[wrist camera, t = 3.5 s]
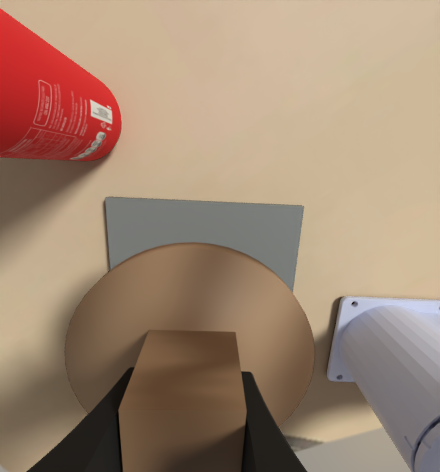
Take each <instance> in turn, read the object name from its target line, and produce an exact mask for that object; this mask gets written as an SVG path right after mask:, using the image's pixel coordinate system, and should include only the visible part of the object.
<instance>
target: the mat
mask: <svg viewBox="0 0 440 472" xmlns="http://www.w3.org/2000/svg"><path fill="white" fill-rule="evenodd" d="M105 203H106V217H107V231H108V245H109V259H110V270H111V269H113V268H114V267H115V266H116V265H118V264H119V263H121V262H122V261H124V260H126V259H127V258H129V257H131V256H133V255H135V254H138V253H140V252H142V251H144V250H147V249H151V248H154V247H158V246H161V245H167V244H173V243H185V242H199V243H209V244H216V245H220V246H224V247H229V248H232V249H234V250H237V251H240V252H243V253H245V254H247V255H249V256H251V257H253V258H255V259H257V260H259V261H260V262H261V263H263V264H264V265H266V266H267V267H269V268H270V269H271V270H272V271H274V272H275V273H276V274H277V275H278V276H279V277H280V278H281V279H282V280H283V281H284V282H285V284H286V285H287V286H288V287H289V289H290V290H291V291H292V293H293V286H294V279H295V271H296V264H297V256H298V248H299V241H300V233H301V226H302V218H303V211H304V206H301V205H280V204H258V203H235V202H213V201H191V200H169V199H147V198H125V197H106V198H105Z"/></svg>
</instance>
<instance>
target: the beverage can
mask: <svg viewBox="0 0 440 472" xmlns="http://www.w3.org/2000/svg"><path fill="white" fill-rule="evenodd" d="M120 133H121V114H120V110H119V106H118V104H117V101H116V99H115V97H114V96H113V94H112V93H111V91H110V90H109V89H108V88H107V87H106V86H105V85H104V84H103V83H102V82H101V81H100V80H98V79H97V78H96V77H94V76H93V75H91V74H90V73H89V72H87V71H86V70H85V69H83V68H82V67H80V66H79V65H78V64H76V63H75V62H74V61H72V60H71V59H69V58H68V57H67V56H65V55H64V54H62V53H61V52H60V51H58V50H57V49H56V48H54V47H53V46H51V45H50V44H49V43H47V42H46V41H45V40H43V39H42V38H40V37H39V36H38V35H36V34H35V33H33V32H32V31H31V30H29V29H28V28H27V27H25V26H24V25H22V24H21V23H20V22H18V21H17V20H16V19H14V18H13V17H11V16H10V15H9V14H7V13H6V12H4V11H3V10H2V9H0V157H4V158H26V159H48V160H71V161H92V160H96V159H99V158H101V157H103V156H105V155H106V154H107V153H109V152H110V151H111V150H112V149H113V147H114V146H115V144H116V143H117V141H118V139H119V137H120Z"/></svg>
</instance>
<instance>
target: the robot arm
mask: <svg viewBox="0 0 440 472" xmlns="http://www.w3.org/2000/svg"><path fill="white" fill-rule="evenodd" d="M354 301H355V304H353V305H351V304H352V302H354ZM439 307H440V300H430V299H405V298H381V297H356V296H345V297H343V298H342V299H341V300H340V304H339V310H338V315H337V320H336V326H335V331H334V336H333V342H332V347H331V352H330V358H329V363H328V369H327V377H328V379H329V380H330V381H337V382H355V383H356V384H357V386H358V387H359V389H360V391H361V392H362V394H363V395H364V397H365V399H366V400H367V402H368V403H369V405H370V407H371V408H372V410H373V411H374V413H375V414H376V416H377V418H378V419H379V421H380V422H381V424H382V426H383V427H384V429H385V430H386V432H387V433H388V435H389V436H390V438H391V440H392V441H393V443H394V444H395V446H396V448H397V449H398V451H399V452H400V454H401V456H402V457H403V459H404V460H405V462H406V463H407V465H408V467H409V468H410V470H411V471H412V472H440V308H439ZM134 368H135V367H130V368H128V369H127V371H126V372H125V373H124V374H123V375H122V377H121V378H120V379H119V380H118V382H117V383H116V384H115V385H114V386H113V387H112V389H111V390H110V391H109V392H108V393H107V394H106V395H105V397H104V398H103V399H102V400H101V401H100V402H99V403H98V404H97V405H96V407H95V408H94V409H93V410H92V411H91V412H90V413H89V414H88V415H87V416H86V417H85V418H84V419H83V420H82V421H81V422H80V423H79V424H78V425H77V426H76V427H75V428H74V429H73V430H72V431H71V432H70V433H69V434H68V435H67V436H66V437H65V438H64V439H63V440H62V441H61V442H60V443H59V444H58V445H57V446H56V447H54V448H53V449H52V450H51V451H50V452H49V453H48V454H47V455H46V456H44V457H43V458H42V459H41V460H40V461H39V462H37V463H36V464H35V465H34V466H33V467H31V468H30V469H29V470H28V471H27V472H123V464H122V451H121V438H120V424H119V411H118V410H119V407H120V404H121V402H122V399H123V397H124V394H125V391H126V389H127V386H128V384H129V381H130V378H131V376H132V373H133V371H134ZM241 374H242V381H243V388H244V396H245V403H246V410H247V413H246V423H245V434H244V445H243V455H242V466H241V472H307V471H306V469H305V468H304V467H303V465H302V464H301V462H300V461H299V459H298V458H297V456H296V455H295V453H294V452H293V450H292V449H291V447H290V446H289V444H288V442H287V441H286V439H285V438H284V436H283V434H282V433H281V431H280V429H279V427H278V426H277V424H276V422H275V420H274V419H273V417H272V415H271V413H270V411H269V409H268V407H267V405H266V403H265V401H264V399H263V397H262V395H261V393H260V391H259V389H258V386H257V384H256V381H255V379H254V376H253V374H252V373H251V372H247V371H241ZM338 375H339V376H338Z"/></svg>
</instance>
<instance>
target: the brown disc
mask: <svg viewBox="0 0 440 472" xmlns="http://www.w3.org/2000/svg"><path fill="white" fill-rule="evenodd" d="M314 358H315V350H314V339H313V335H312V330H311V327H310V324H309V322H308V319H307V317H306V314H305V312H304V311H303V309H302V307H301V306H300V304H299V302H298V301H297V299H296V297H295V296H294V294H293V293H292V291H291V290H290V289H289V287H288V286H287V285H286V284H285V282H284V281H283V280H282V279H281V278H280V277H279V276H278V275H277V274H276V273H275V272H274V271H272V270H271V269H270V268H269V267H267V266H266V265H264V264H263V263H261V262H260V261H259V260H257V259H255V258H253V257H251V256H249V255H247V254H245V253H243V252H240V251H237V250H234V249H232V248H229V247H224V246H220V245H216V244H209V243H199V242H185V243H173V244H167V245H161V246H158V247H154V248H151V249H147V250H144V251H142V252H140V253H138V254H135V255H133V256H131V257H129V258H127V259H126V260H124V261H122V262H121V263H119V264H118V265H116V266H115V267H114V268H113V269H111V270H110V271H109V272H108V273H106V274H105V275H104V276H103V277H102V278H101V279H100V280H99V281H98V282H97V283H96V284H95V285H94V286H93V288H92V289H91V290H90V291H89V292H88V293H87V294H86V295H85V296H84V298H83V299H82V301H81V303H80V304H79V306H78V307H77V309H76V311H75V313H74V315H73V317H72V319H71V321H70V324H69V328H68V332H67V335H66V343H65V365H66V369H67V374H68V378H69V381H70V383H71V386H72V389H73V391H74V393H75V395H76V397H77V398H78V400H79V402H80V403H81V405H82V406H83V407H84V409H85V410H86V411H87V413H88V414H89V413H90V412H91V411H92V410H93V409H94V408H95V407H96V405H97V404H98V403H99V402H100V401H101V400H102V399H103V398H104V397H105V395H106V394H107V393H108V392H109V391H110V390H111V389H112V387H113V386H114V385H115V384H116V383H117V382H118V380H119V379H120V378H121V377H122V375H123V374H124V373H125V372H126V371H127V369H128V368H130V367H135V368H134V371H133V373H132V376H131V378H130V381H129V384H128V386H127V389H126V391H125V394H124V397H123V399H122V402H121V404H120V407H119V410H118V411H119V424H120V438H121V451H122V464H123V472H241V466H242V455H243V445H244V434H245V423H246V413H247V410H246V403H245V396H244V388H243V381H242V374H241V371H247V372H251V373H252V374H253V376H254V379H255V381H256V384H257V386H258V389H259V391H260V393H261V395H262V397H263V399H264V401H265V403H266V405H267V407H268V409H269V411H270V413H271V415H272V417H273V419H274V420H275V422H276V424H277V426H278V427H279V426H280V425H281V424H282V423H283V422H284V421H285V420H286V419H287V418H288V417H289V416H290V415H291V414H292V413H293V411H294V410H295V409H296V408H297V406H298V405H299V403H300V402H301V400H302V398H303V397H304V395H305V393H306V391H307V388H308V386H309V383H310V381H311V377H312V373H313V369H314Z"/></svg>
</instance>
